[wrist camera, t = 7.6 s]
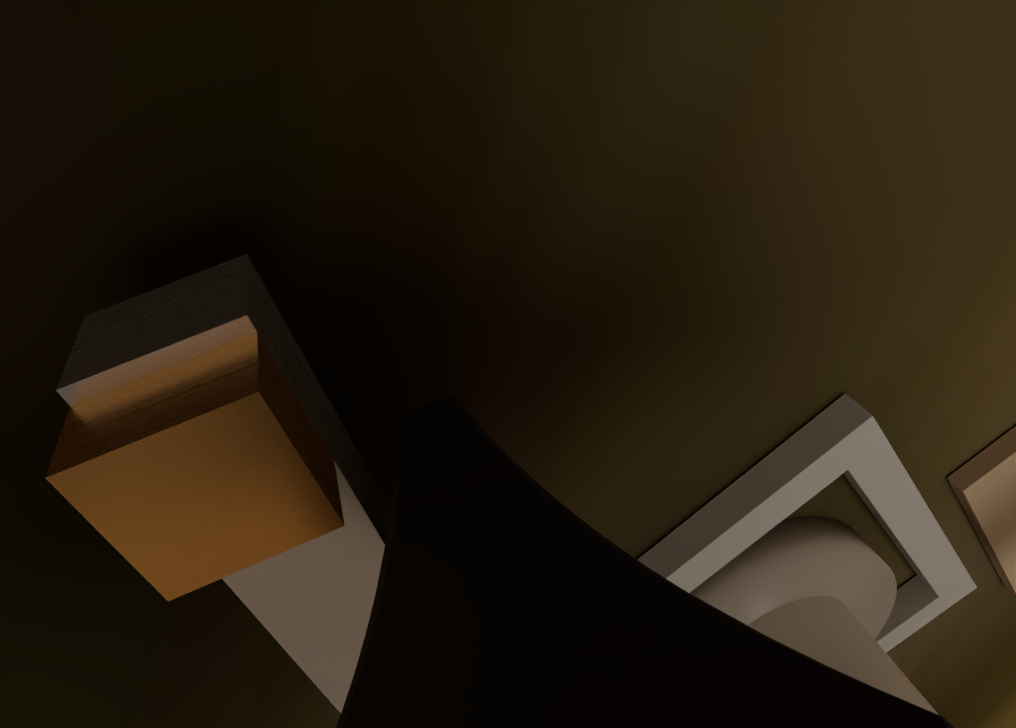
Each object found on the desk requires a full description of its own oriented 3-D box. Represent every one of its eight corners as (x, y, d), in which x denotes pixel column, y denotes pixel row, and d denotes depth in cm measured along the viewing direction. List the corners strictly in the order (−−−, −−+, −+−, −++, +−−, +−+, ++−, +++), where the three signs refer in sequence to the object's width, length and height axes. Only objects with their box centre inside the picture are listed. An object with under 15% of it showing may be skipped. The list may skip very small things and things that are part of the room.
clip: (298, 233, 8) (317, 345, 6) (576, 789, 17) (618, 900, 15) (28, 337, 7) (-47, 491, 5) (463, 843, 17) (491, 964, 15)
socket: (954, 566, 20) (976, 587, 20) (689, 758, 22) (703, 783, 21) (845, 393, 14) (872, 415, 14) (495, 672, 16) (505, 704, 15)
